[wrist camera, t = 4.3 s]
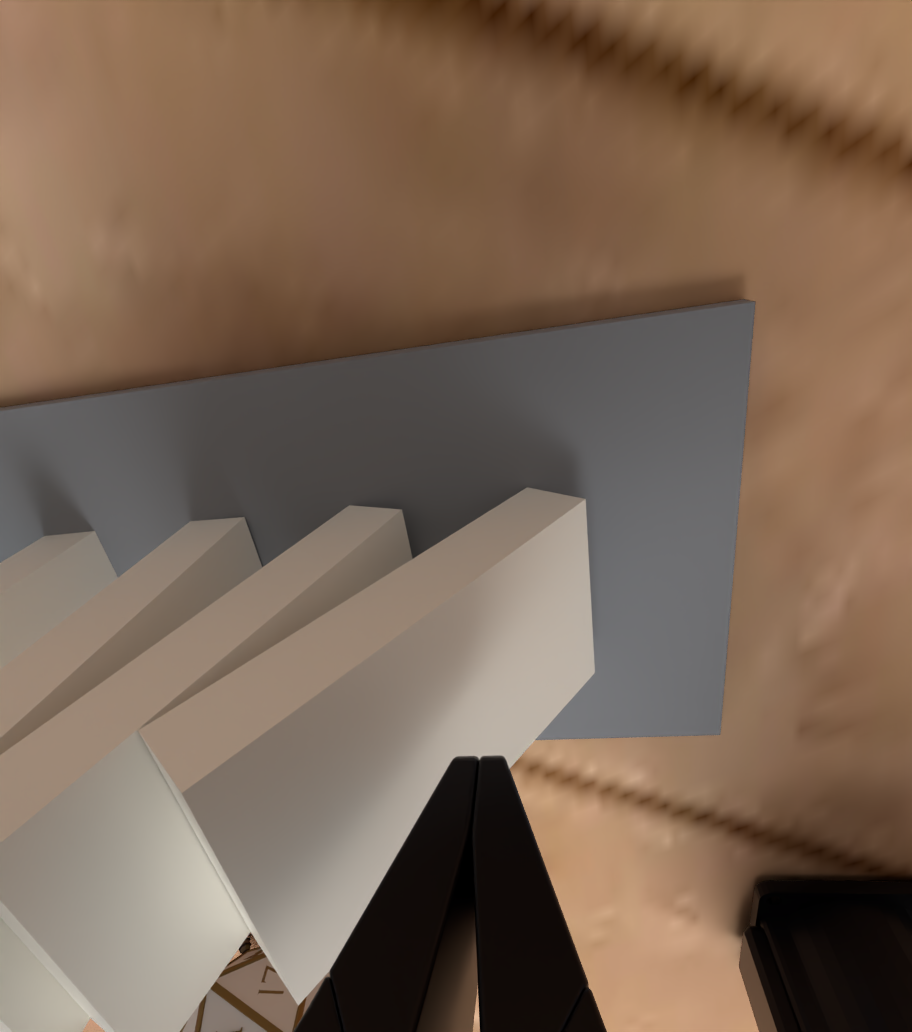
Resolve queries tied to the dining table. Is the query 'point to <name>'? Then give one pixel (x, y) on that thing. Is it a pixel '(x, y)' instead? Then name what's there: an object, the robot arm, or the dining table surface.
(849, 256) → the dining table surface
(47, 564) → the domino
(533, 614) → the domino
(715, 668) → the slate mat
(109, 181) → the dining table surface
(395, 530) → the domino
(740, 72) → the dining table surface
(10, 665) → the domino
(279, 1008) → the game die
